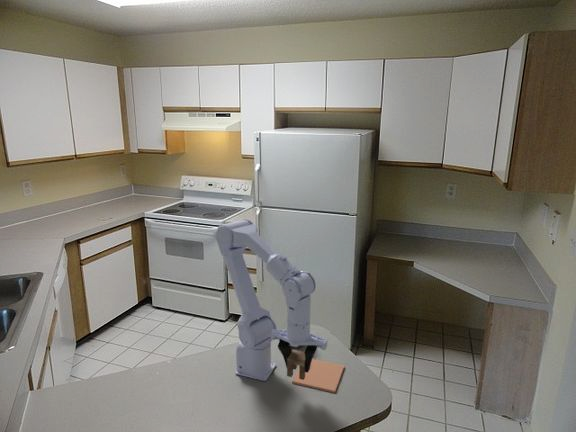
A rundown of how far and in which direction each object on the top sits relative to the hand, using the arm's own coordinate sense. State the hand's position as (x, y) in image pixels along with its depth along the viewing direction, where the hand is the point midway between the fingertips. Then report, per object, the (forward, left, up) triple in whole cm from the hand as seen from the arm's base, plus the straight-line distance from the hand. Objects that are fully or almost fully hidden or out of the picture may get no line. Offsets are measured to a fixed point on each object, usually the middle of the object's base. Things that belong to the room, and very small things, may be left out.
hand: (298, 368), depth 103 cm
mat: (+3, +10, -8) cm, 13 cm away
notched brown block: (0, 0, -1) cm, 1 cm away
